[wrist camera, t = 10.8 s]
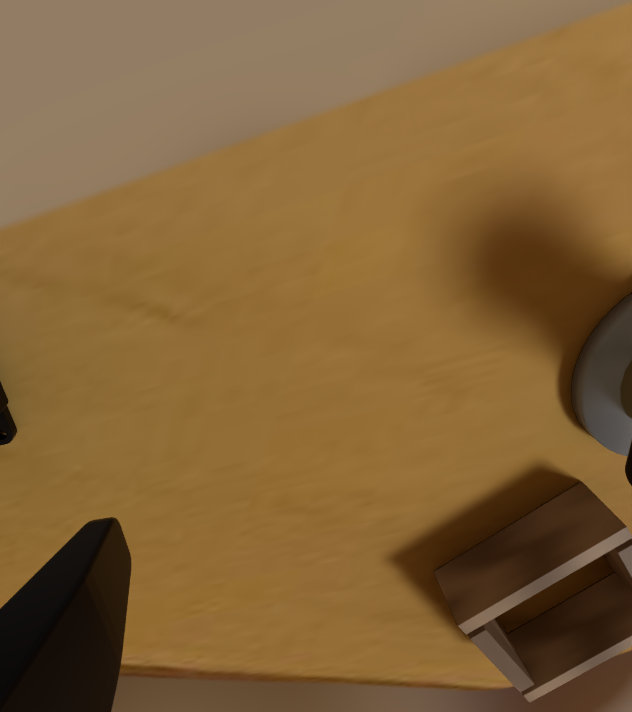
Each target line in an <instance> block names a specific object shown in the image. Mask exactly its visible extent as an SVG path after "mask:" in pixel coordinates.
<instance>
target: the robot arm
mask: <svg viewBox="0 0 632 712" xmlns="http://www.w3.org/2000/svg"><path fill="white" fill-rule="evenodd" d="M7 404H8V399H7V396H6V394H5V392H4V389H3V387H2V385H1V382H0V430H3V431H5V433H6V434H7V435H4V434H1V433H0V445H5V444H8V443H10V442H11V441H12V440H13V438H14V437H15V436H16V433H17V428H16V426H15V423H14V421H13V418H12V416H11V414H10V411H9V409H8V407H7ZM625 473H626V477H627V479H628V481H629V483H630V484H631V486H632V440H631V445H630V449H629V453H628V457H627V461H626V465H625ZM130 576H131V556H130V552H129V549H128V546H127V543H126V540H125V537H124V534H123V531H122V528H121V526H120V523H119V521H118V520H117V519H116V518H113V517H110V518H104V519H98V520H93V521H90V522H88V523H87V524H85V525H84V526H83V527H82V528H81V529H80V530H79V531H78V532H77V533H76V534H75V535H74V536H73V537H72V538H71V539H70V540H69V541H68V542H67V543H66V544H65V545H64V546H63V547H62V548H61V549H60V550H59V551H58V552H57V553H56V554H55V555H54V556H53V557H52V558H51V559H50V560H49V561H48V562H47V563H46V564H45V565H44V566H43V567H42V568H41V569H40V570H39V571H38V572H37V573H36V574H35V575H34V576H33V577H32V578H31V579H30V580H29V581H28V582H27V583H26V584H25V585H24V586H23V587H22V588H21V589H20V590H19V591H18V592H17V593H16V594H15V595H14V596H13V597H12V598H11V599H10V600H9V601H8V602H7V603H6V604H5V605H4V606H3V607H2V608H1V609H0V712H111V710H112V705H113V701H114V696H115V691H116V687H117V681H118V677H119V671H120V666H121V658H122V651H123V642H124V632H125V623H126V613H127V604H128V595H129V585H130Z"/></svg>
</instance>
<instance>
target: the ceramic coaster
mask: <svg viewBox="0 0 632 712" xmlns="http://www.w3.org/2000/svg"><path fill="white" fill-rule="evenodd" d="M631 360H632V293H631V294H630V295H628V296H627V297H626V298H624V299H623V300H622V301H621V302H620V303H618V304H617V305H616V306H615V307H614V308H613V309H612V310H611V311H610V312H609V313H608V314H607V315H606V316H605V317H604V318H603V319H602V320H601V322H600V323H599V324H598V325H597V327H596V328H595V329H594V331H593V332H592V334H591V335H590V337H589V338H588V340H587V342H586V343H585V345H584V347H583V349H582V351H581V353H580V355H579V358H578V361H577V363H576V366H575V370H574V374H573V378H572V388H571V396H572V404H573V409H574V412H575V415H576V417H577V419H578V421H579V423H580V424H581V426H582V427H583V428H584V429H585V430H586V431H587V432H588V433H589V434H590V435H591V436H592V437H593V438H595V439H596V440H597V441H598V442H599V443H600V444H602V445H603V446H605V447H606V448H607V449H609V450H611V451H613V452H615V453H618V454H621V455H625V456H628V453H629V449H630V445H631V440H632V419H631V418H630V417H629V416H627V414H626V412H625V410H624V408H623V406H622V404H621V392H620V387H621V384H622V380H623V377H624V373H625V370H626V368H627V367H628V365H629V364H630V362H631Z"/></svg>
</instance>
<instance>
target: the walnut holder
mask: <svg viewBox="0 0 632 712" xmlns="http://www.w3.org/2000/svg"><path fill="white" fill-rule="evenodd" d="M631 538H632V536H631V534H630V532H629V530H628V528H627V526H626V525H625V524H624V523H623V522H622V521H621V520H620V519H619V518H618V517H617V516H616V515H615V514H614V513H613V512H612V511H611V510H610V509H609V508H608V507H607V506H606V505H605V504H604V503H603V502H602V501H601V500H600V499H599V498H598V497H597V496H596V495H595V494H594V493H593V492H592V491H591V490H590V489H589V488H588V487H587V486H586V485H585V484H584V483H583V482H580V483H578V484H577V485H575V486H573V487H572V488H570V489H569V490H567V491H565V492H564V493H562V494H560V495H559V496H557V497H555V498H554V499H552V500H551V501H549V502H547V503H546V504H544V505H542V506H541V507H539V508H537V509H536V510H534V511H532V512H531V513H529V514H528V515H526V516H524V517H523V518H521V519H519V520H518V521H516V522H514V523H513V524H511V525H510V526H508V527H506V528H505V529H503V530H501V531H500V532H498V533H496V534H495V535H493V536H491V537H490V538H488V539H487V540H485V541H483V542H482V543H480V544H478V545H477V546H475V547H473V548H472V549H470V550H468V551H467V552H465V553H464V554H462V555H460V556H459V557H457V558H455V559H454V560H452V561H450V562H449V563H447V564H446V565H444V566H442V567H441V568H439V569H437V570H436V571H434V574H435V576H436V579H437V581H438V583H439V585H440V587H441V590H442V592H443V594H444V596H445V599H446V601H447V603H448V605H449V607H450V610H451V612H452V614H453V616H454V619H455V621H456V623H457V625H458V627H459V628H460V629H461V630H462V631H463V632H464V633H465V634H466V635H467V634H468V636H469V638H470V639H471V641H472V642H473V643H474V644H475V645H476V646H477V647H478V648H479V649H480V650H481V651H482V652H483V653H484V654H485V655H486V657H487V658H488V659H489V660H490V661H491V662H492V663H493V664H494V665H495V666H496V667H497V668H498V669H499V670H500V671H501V672H502V674H503V675H504V676H505V677H506V678H507V679H508V680H509V681H510V682H511V683H512V684H513V685H514V686H515V687H516V688H517V690H518V691H519V692H522V694H523V696H524V697H525V698H526V699H527V700H528V701H529V702H531V701H533V700H535V699H537V698H539V697H540V696H542V695H544V694H546V693H548V692H549V691H551V690H553V689H555V688H557V687H558V686H560V685H562V684H564V683H566V682H568V681H570V680H571V679H573V678H575V677H577V676H579V675H580V674H582V673H584V672H585V671H588V670H589V669H591V668H593V667H595V666H597V665H598V664H600V663H602V662H604V661H606V660H608V659H610V658H611V657H613V656H615V655H617V654H619V653H620V652H622V651H624V650H626V649H628V648H630V647H631V646H632V539H631ZM602 555H604V556H605V557H606V559H607V561H608V563H609V564H610V566H611V568H612V569H613V570H614V571H615V573H613V574H611V575H610V576H608V577H606V578H604V579H603V580H601V581H599V582H597V583H596V584H594V585H592V586H590V587H589V588H587V589H585V590H584V591H582V592H580V593H578V594H577V595H575V596H573V597H571V598H570V599H568V600H566V601H564V602H563V603H561V604H559V605H557V606H556V607H554V608H552V609H551V610H549V611H547V612H545V613H544V614H542V615H540V616H538V617H537V618H535V619H533V620H531V621H530V622H528V623H526V624H524V625H523V626H521V627H519V628H518V629H516V630H514V631H512V632H511V633H509V634H507V633H506V631H505V629H504V628H503V627H502V626H501V625H500V624H499V622H498V621H497V620H496V619H495V618H496V617H497V616H499V615H501V614H503V613H504V612H506V611H508V610H509V609H511V608H513V607H515V606H516V605H518V604H520V603H521V602H523V601H525V600H527V599H528V598H530V597H532V596H533V595H535V594H537V593H539V592H540V591H542V590H544V589H545V588H547V587H549V586H551V585H552V584H554V583H556V582H557V581H559V580H561V579H563V578H564V577H566V576H568V575H569V574H571V573H573V572H575V571H576V570H578V569H580V568H581V567H583V566H585V565H587V564H588V563H590V562H592V561H593V560H595V559H597V558H599V557H600V556H602Z"/></svg>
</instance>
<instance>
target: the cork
mask: <svg viewBox="0 0 632 712" xmlns="http://www.w3.org/2000/svg"><path fill="white" fill-rule="evenodd" d="M620 392H621V404H622V406H623V408H624V410H625V412H626V414H627V416H629V417H630V418H631V419H632V360H631V362H630V364H629V365H628V367H627V368H626V370H625V373H624V377H623V380H622V384H621V387H620Z"/></svg>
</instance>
